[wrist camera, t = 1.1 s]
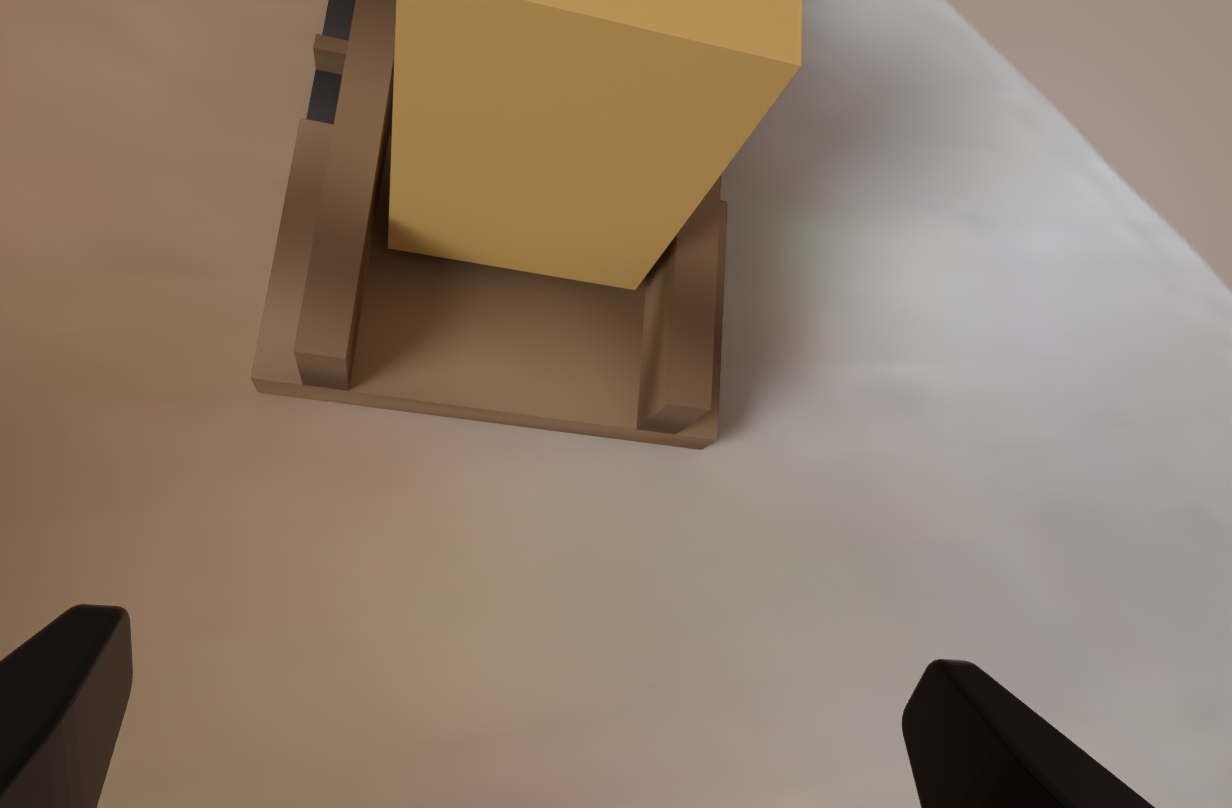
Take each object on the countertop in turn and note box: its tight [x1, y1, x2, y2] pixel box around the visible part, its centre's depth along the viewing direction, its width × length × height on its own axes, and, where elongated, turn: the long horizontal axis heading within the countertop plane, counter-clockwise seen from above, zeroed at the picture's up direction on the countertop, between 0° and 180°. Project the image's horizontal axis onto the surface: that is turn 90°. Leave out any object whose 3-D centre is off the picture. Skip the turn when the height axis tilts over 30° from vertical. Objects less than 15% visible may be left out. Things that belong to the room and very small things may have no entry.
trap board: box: [251, 0, 727, 450], centre depth 23 cm, size 17×11×4 cm, turn 175°
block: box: [388, 0, 803, 290], centre depth 18 cm, size 3×6×9 cm, turn 85°
